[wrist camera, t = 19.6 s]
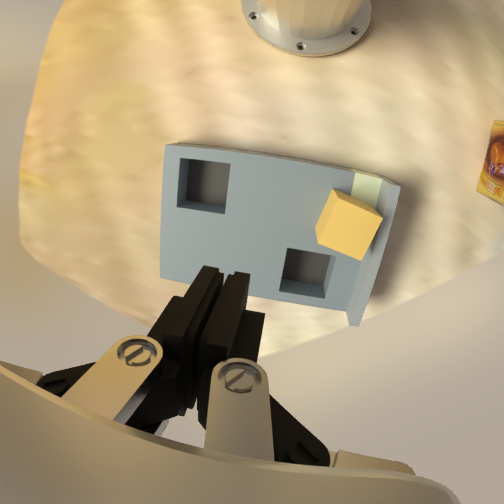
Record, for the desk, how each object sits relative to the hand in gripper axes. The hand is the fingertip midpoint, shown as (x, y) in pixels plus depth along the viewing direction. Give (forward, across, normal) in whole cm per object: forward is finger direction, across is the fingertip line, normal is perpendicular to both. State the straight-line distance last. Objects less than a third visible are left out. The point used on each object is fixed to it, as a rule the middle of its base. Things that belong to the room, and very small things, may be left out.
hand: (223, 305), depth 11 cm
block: (+18, -7, +1) cm, 19 cm away
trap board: (+21, 0, +4) cm, 21 cm away
